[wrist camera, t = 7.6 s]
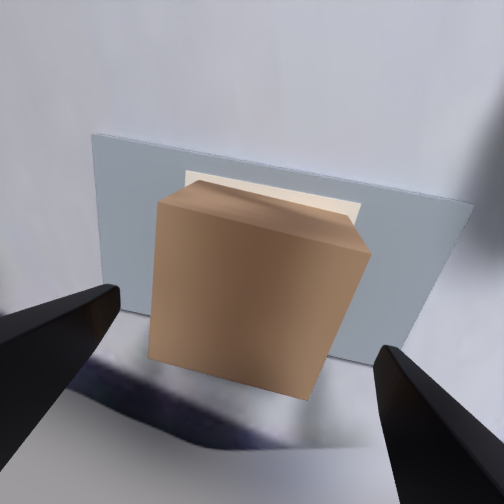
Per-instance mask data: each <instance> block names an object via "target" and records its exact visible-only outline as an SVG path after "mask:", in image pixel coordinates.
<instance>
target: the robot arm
mask: <svg viewBox="0 0 504 504" xmlns="http://www.w3.org/2000/svg"><path fill="white" fill-rule="evenodd" d="M120 308H121V296H120V288H119V286H117V285H113V284H103V285H100V286H97V287H94V288H91V289H87V290H84V291H81V292H78V293H75V294H72V295H68V296H65V297H62V298H59V299H56V300H53V301H50V302H46V303H43V304H40V305H37V306H34V307H31V308H27V309H24V310H21V311H18V312H15V313H12V314H8V315H5V316H2V317H0V472H1V470H2V469H3V468H4V466H5V465H6V464H7V463H8V461H9V460H10V459H11V457H12V456H13V455H14V454H15V452H16V451H17V450H18V448H19V447H20V446H21V445H22V443H23V442H24V441H25V439H26V438H27V437H28V436H29V434H30V433H31V432H32V430H33V429H34V428H35V427H36V425H37V424H38V423H39V421H40V420H41V419H42V418H43V416H44V415H45V414H46V413H47V411H48V410H49V409H50V407H51V406H52V405H53V403H54V402H55V401H56V400H57V398H58V397H59V396H60V394H61V393H62V392H63V391H64V389H65V388H66V387H67V386H68V384H69V383H70V382H71V380H72V379H73V378H74V377H75V375H76V374H77V373H78V371H79V370H80V369H81V368H82V366H83V365H84V364H85V363H86V361H87V360H88V359H89V357H90V356H91V355H92V353H93V352H94V351H95V349H96V348H97V346H98V345H99V343H100V342H101V340H102V339H103V337H104V335H105V334H106V332H107V331H108V329H109V327H110V326H111V324H112V323H113V321H114V319H115V318H116V316H117V315H118V313H119V311H120ZM373 372H374V380H375V388H376V395H377V403H378V410H379V416H380V421H381V426H382V430H383V434H384V438H385V442H386V446H387V450H388V455H389V459H390V463H391V467H392V471H393V476H394V480H395V484H396V488H397V492H398V496H399V501H400V504H504V443H503V442H502V441H501V440H499V439H498V438H497V437H496V436H495V435H494V434H493V433H492V432H491V431H489V430H488V429H487V428H486V427H485V426H484V425H483V424H482V423H481V422H480V421H478V420H477V419H476V418H475V417H474V416H473V415H472V414H471V413H470V412H468V411H467V410H466V409H465V408H464V407H463V406H462V405H461V404H460V403H458V402H457V401H456V400H455V399H454V398H453V397H452V396H451V395H450V394H449V393H447V392H446V391H445V390H444V389H443V388H442V387H441V386H440V385H439V384H437V383H436V382H435V381H434V380H433V379H432V378H431V377H430V376H429V375H427V374H426V373H425V372H424V371H423V370H422V369H421V368H420V367H419V366H418V365H416V364H415V363H414V362H413V361H412V360H411V359H410V358H409V357H408V356H406V355H405V354H404V353H403V352H402V351H401V350H400V349H399V348H397V347H395V346H390V345H383V346H382V347H381V349H380V351H379V353H378V355H377V357H376V359H375V361H374V364H373Z"/></svg>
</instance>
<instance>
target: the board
mask: <svg viewBox="0 0 504 504" xmlns="http://www.w3.org/2000/svg"><path fill="white" fill-rule="evenodd" d="M91 137H92V149H93V162H94V175H95V187H96V200H97V212H98V225H99V237H100V250H101V262H102V275H103V284H113V285H117V286H119V288H120V296H121V308H120V309H123V310H128V311H132V312H137V313H141V314H146V315H150V316H151V302H152V285H153V269H154V252H155V235H156V219H157V202H158V201H160V200H162V199H164V198H166V197H168V196H169V195H171V194H173V193H175V192H177V191H179V190H181V189H183V188H184V187H186V186H188V185H190V184H192V183H194V182H196V181H197V180H202V181H206V182H210V183H215V184H219V185H223V186H227V187H231V188H236V189H240V190H244V191H248V192H252V193H256V194H261V195H265V196H269V197H273V198H277V199H281V200H286V201H290V202H294V203H298V204H302V205H306V206H311V207H315V208H319V209H323V210H327V211H332V212H336V213H340V214H344V215H348V217H349V219H350V220H351V222H352V223H353V225H354V227H355V228H356V230H357V231H358V233H359V235H360V236H361V238H362V239H363V241H364V243H365V244H366V246H367V247H368V249H369V251H370V252H371V254H372V255H371V257H370V259H369V262H368V264H367V266H366V268H365V271H364V273H363V275H362V278H361V280H360V282H359V284H358V287H357V289H356V291H355V294H354V296H353V298H352V300H351V303H350V305H349V307H348V310H347V312H346V314H345V316H344V319H343V321H342V323H341V326H340V328H339V330H338V332H337V335H336V337H335V339H334V341H333V344H332V346H331V348H330V351H329V353H328V355H329V356H334V357H338V358H343V359H347V360H352V361H356V362H361V363H365V364H369V365H373V364H374V361H375V359H376V357H377V355H378V353H379V351H380V349H381V347H382V346H383V345H390V346H395V347H397V348H399V349H400V350H401V348H402V346H403V344H404V342H405V341H406V339H407V337H408V335H409V333H410V331H411V329H412V327H413V325H414V323H415V321H416V319H417V317H418V315H419V313H420V311H421V310H422V308H423V306H424V304H425V302H426V300H427V298H428V296H429V294H430V292H431V290H432V288H433V286H434V284H435V282H436V281H437V279H438V277H439V275H440V273H441V271H442V269H443V267H444V265H445V263H446V261H447V259H448V257H449V255H450V253H451V252H452V250H453V248H454V246H455V244H456V242H457V240H458V238H459V236H460V234H461V232H462V230H463V228H464V226H465V224H466V222H467V221H468V219H469V217H470V215H471V213H472V211H473V209H474V207H475V206H474V205H472V204H470V203H467V202H463V201H457V200H452V199H447V198H441V197H436V196H431V195H425V194H420V193H415V192H409V191H404V190H398V189H393V188H388V187H382V186H377V185H372V184H366V183H361V182H355V181H350V180H345V179H339V178H334V177H329V176H323V175H318V174H312V173H307V172H302V171H296V170H291V169H286V168H280V167H275V166H270V165H264V164H259V163H253V162H248V161H243V160H237V159H232V158H227V157H221V156H216V155H210V154H205V153H200V152H194V151H189V150H184V149H178V148H173V147H168V146H162V145H157V144H151V143H146V142H141V141H135V140H130V139H125V138H119V137H114V136H108V135H103V134H91Z"/></svg>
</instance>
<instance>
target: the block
mask: <svg viewBox="0 0 504 504" xmlns="http://www.w3.org/2000/svg"><path fill="white" fill-rule="evenodd" d="M371 255H372V254H371V252H370V251H369V249H368V247H367V246H366V244H365V243H364V241H363V239H362V238H361V236H360V235H359V233H358V231H357V230H356V228H355V227H354V225H353V223H352V222H351V220H350V219H349V217H348V215H344V214H340V213H336V212H332V211H327V210H323V209H319V208H315V207H311V206H306V205H302V204H298V203H294V202H290V201H286V200H281V199H277V198H273V197H269V196H265V195H261V194H256V193H252V192H248V191H244V190H240V189H236V188H231V187H227V186H223V185H219V184H215V183H210V182H206V181H202V180H197V181H196V182H194V183H192V184H190V185H188V186H186V187H184V188H183V189H181V190H179V191H177V192H175V193H173V194H171V195H169V196H168V197H166V198H164V199H162V200H160V201H158V202H157V219H156V235H155V252H154V269H153V285H152V302H151V318H150V335H149V351H148V359H152V360H156V361H160V362H163V363H167V364H171V365H175V366H178V367H182V368H186V369H190V370H193V371H197V372H201V373H205V374H208V375H212V376H216V377H220V378H223V379H227V380H231V381H235V382H238V383H242V384H246V385H250V386H253V387H257V388H261V389H264V390H268V391H272V392H276V393H279V394H283V395H287V396H291V397H294V398H298V399H302V400H306V401H308V399H309V396H310V394H311V392H312V389H313V387H314V385H315V383H316V380H317V378H318V376H319V373H320V371H321V369H322V367H323V364H324V362H325V360H326V357H327V355H328V353H329V351H330V348H331V346H332V344H333V341H334V339H335V337H336V335H337V332H338V330H339V328H340V326H341V323H342V321H343V319H344V316H345V314H346V312H347V310H348V307H349V305H350V303H351V300H352V298H353V296H354V294H355V291H356V289H357V287H358V284H359V282H360V280H361V278H362V275H363V273H364V271H365V268H366V266H367V264H368V262H369V259H370V257H371Z"/></svg>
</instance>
